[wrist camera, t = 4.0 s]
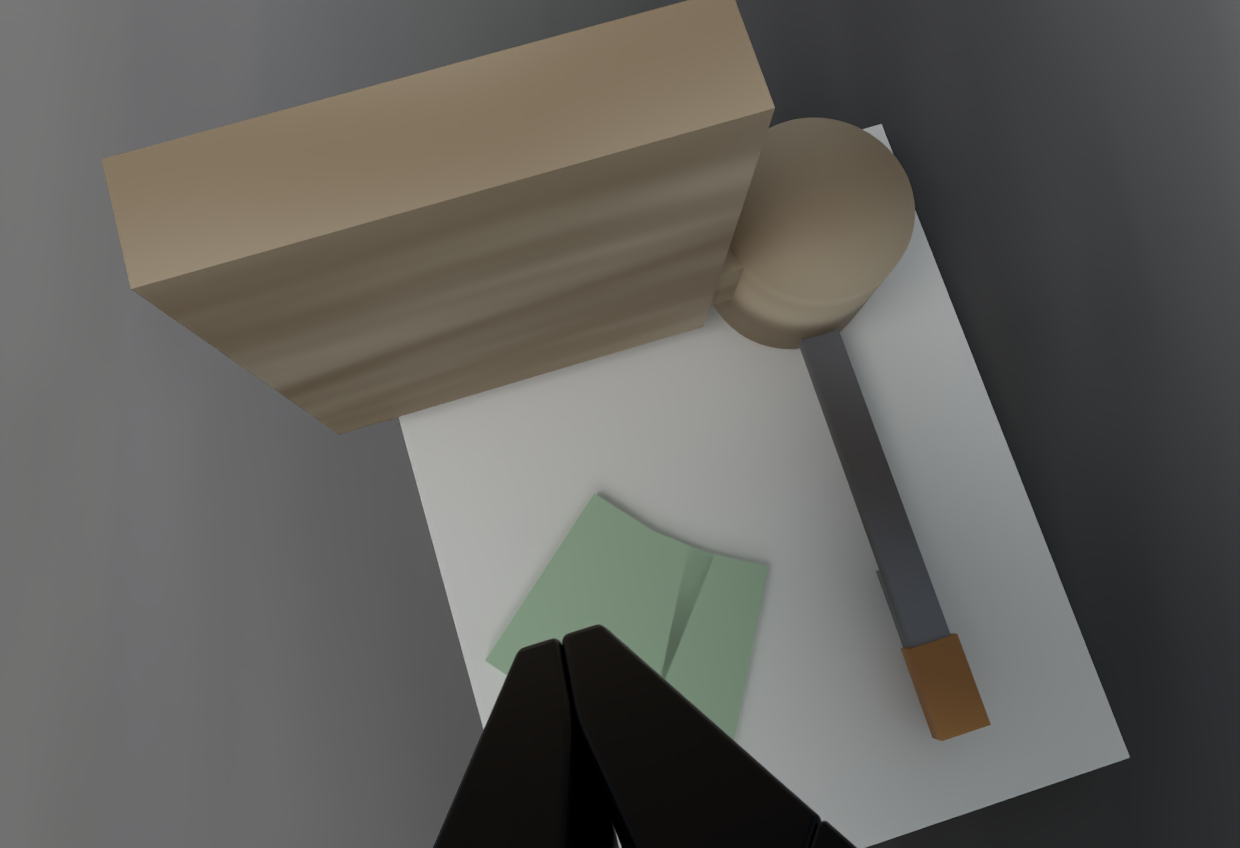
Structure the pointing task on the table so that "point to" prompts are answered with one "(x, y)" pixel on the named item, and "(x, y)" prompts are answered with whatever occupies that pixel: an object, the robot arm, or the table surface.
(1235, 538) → the table surface
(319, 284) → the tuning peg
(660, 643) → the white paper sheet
